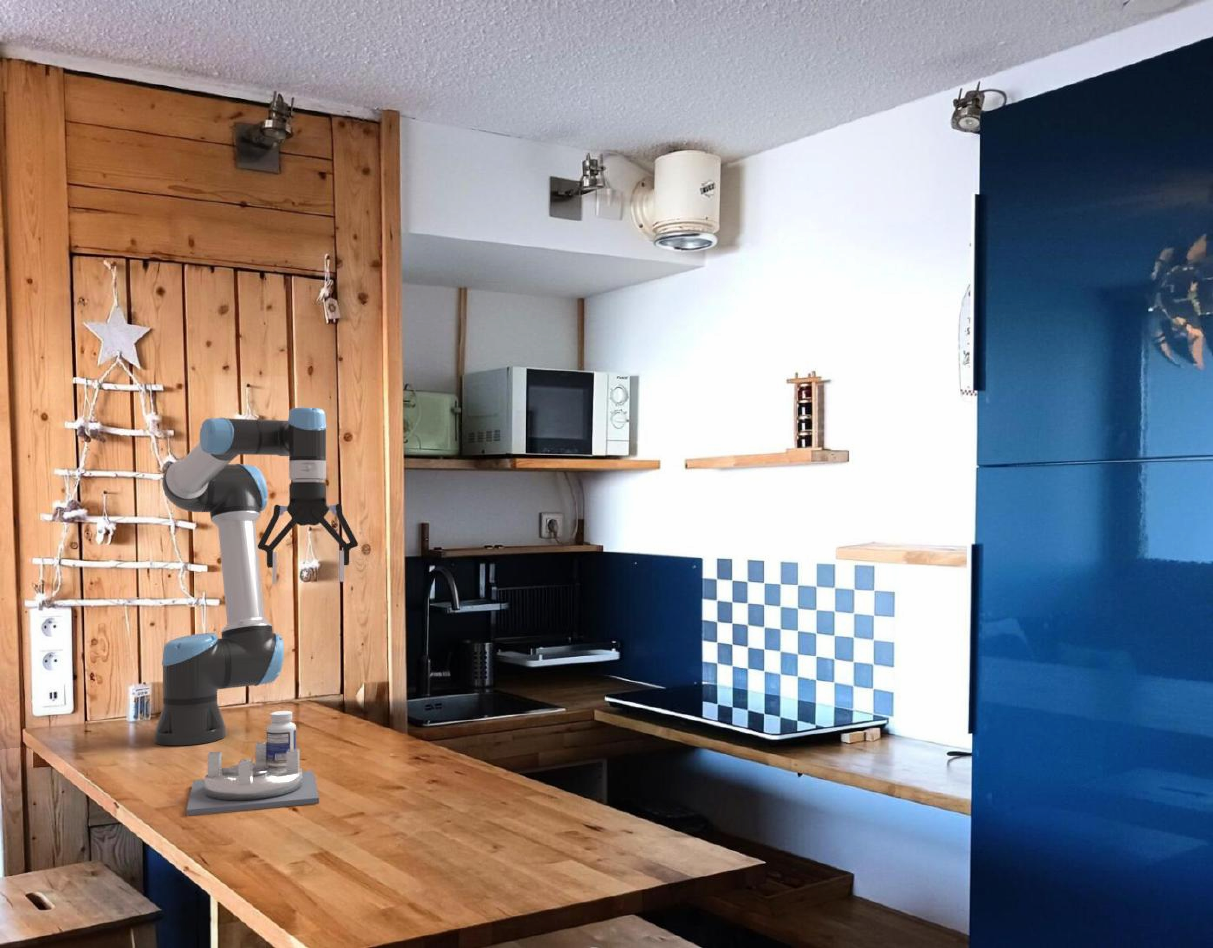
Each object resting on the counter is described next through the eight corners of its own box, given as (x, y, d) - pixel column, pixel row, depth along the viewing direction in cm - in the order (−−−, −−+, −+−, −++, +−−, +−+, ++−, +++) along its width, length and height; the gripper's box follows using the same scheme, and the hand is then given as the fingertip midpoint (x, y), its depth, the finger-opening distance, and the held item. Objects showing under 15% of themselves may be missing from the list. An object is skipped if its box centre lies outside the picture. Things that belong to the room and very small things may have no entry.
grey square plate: (193, 786, 208) (193, 779, 208) (313, 775, 215) (313, 769, 215) (186, 815, 188) (186, 808, 188) (319, 803, 195) (319, 796, 195)
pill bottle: (280, 759, 212) (280, 709, 213) (302, 762, 210) (302, 711, 210) (260, 766, 208) (260, 714, 208) (282, 768, 205) (282, 716, 206)
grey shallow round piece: (194, 801, 192) (193, 764, 192) (217, 777, 209) (217, 743, 209) (293, 797, 194) (293, 760, 194) (309, 774, 211) (308, 740, 211)
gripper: (245, 481, 224) (245, 585, 223) (369, 480, 231) (370, 581, 231) (245, 482, 231) (246, 583, 230) (366, 481, 239) (367, 579, 238)
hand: (308, 582), depth 231 cm, fingers open, 13 cm apart
